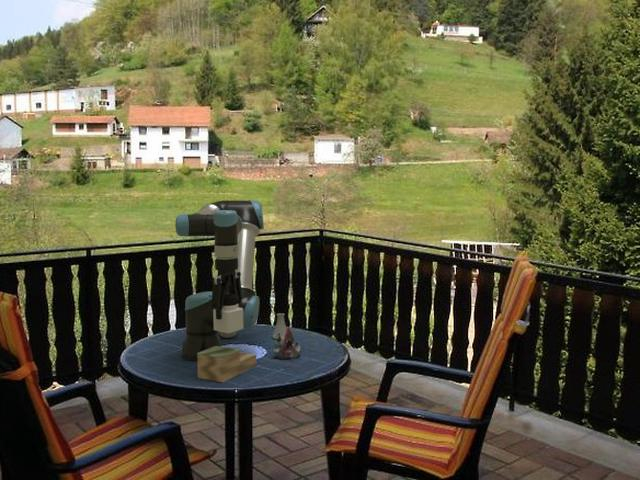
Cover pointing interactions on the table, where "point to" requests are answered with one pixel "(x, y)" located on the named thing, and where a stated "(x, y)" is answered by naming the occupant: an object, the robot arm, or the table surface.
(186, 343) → the robot arm
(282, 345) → the red grey figurine
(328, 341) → the table surface
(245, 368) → the stepped stand
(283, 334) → the flask
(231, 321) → the medicine bottle
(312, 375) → the table surface
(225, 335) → the perfume bottle
